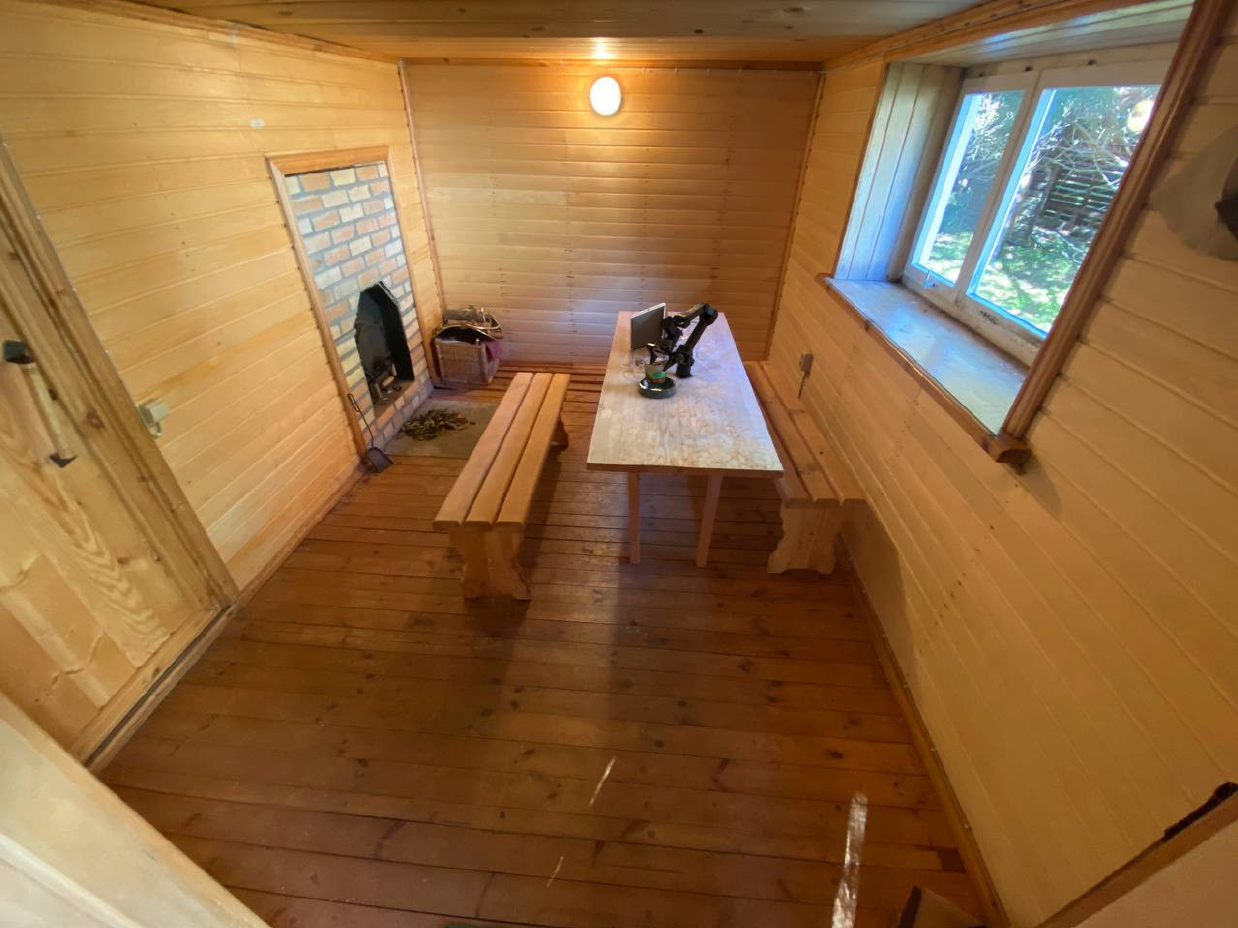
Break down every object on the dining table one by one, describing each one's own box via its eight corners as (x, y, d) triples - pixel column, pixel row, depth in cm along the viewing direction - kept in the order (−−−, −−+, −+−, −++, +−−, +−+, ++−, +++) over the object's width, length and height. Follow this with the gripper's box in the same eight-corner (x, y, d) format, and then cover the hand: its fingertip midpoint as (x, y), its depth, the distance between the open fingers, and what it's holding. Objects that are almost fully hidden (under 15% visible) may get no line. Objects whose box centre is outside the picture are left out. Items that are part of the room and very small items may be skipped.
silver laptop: (668, 359, 272) (671, 323, 261) (628, 357, 273) (629, 322, 262) (668, 335, 301) (670, 302, 290) (631, 334, 302) (632, 301, 291)
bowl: (664, 380, 251) (665, 372, 249) (681, 394, 238) (682, 387, 236) (633, 386, 245) (633, 378, 243) (648, 401, 232) (649, 393, 230)
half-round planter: (648, 388, 235) (648, 369, 229) (643, 382, 240) (643, 363, 233) (672, 382, 239) (673, 363, 232) (666, 376, 243) (667, 357, 237)
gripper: (648, 326, 233) (633, 356, 232) (682, 336, 223) (666, 367, 223) (657, 338, 242) (643, 367, 242) (690, 347, 233) (675, 377, 232)
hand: (656, 369), depth 234 cm, fingers closed on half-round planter, 7 cm apart
